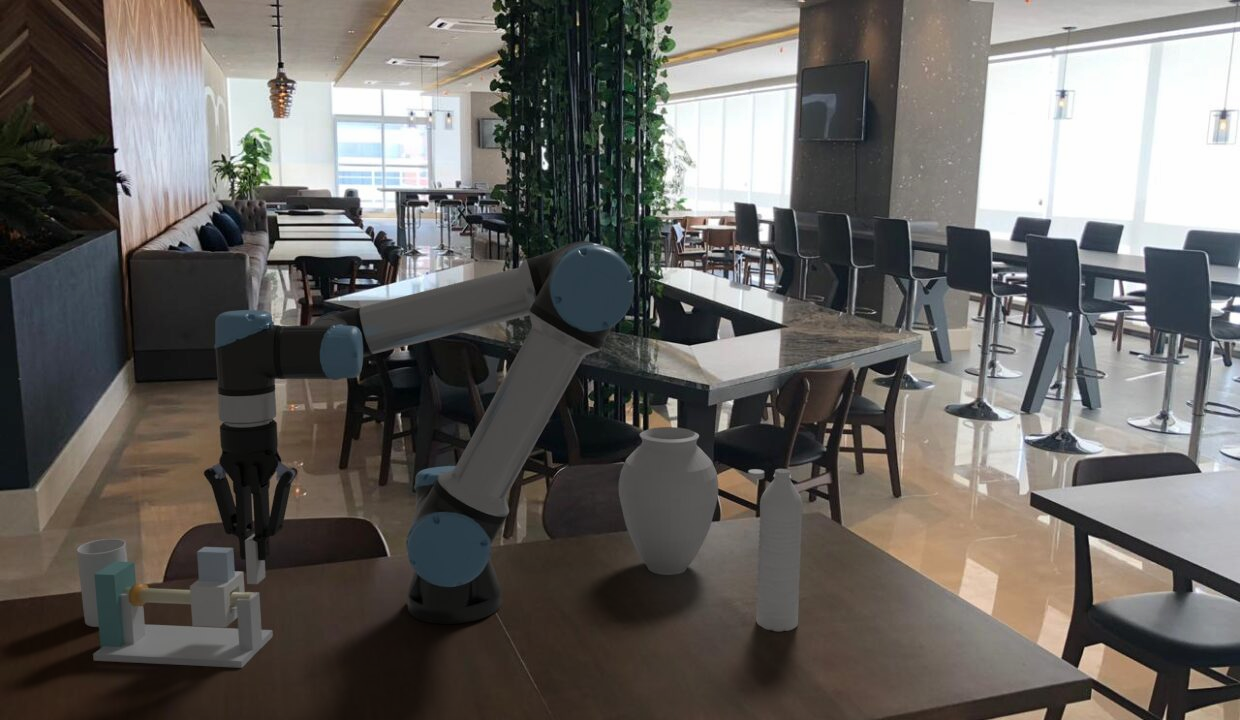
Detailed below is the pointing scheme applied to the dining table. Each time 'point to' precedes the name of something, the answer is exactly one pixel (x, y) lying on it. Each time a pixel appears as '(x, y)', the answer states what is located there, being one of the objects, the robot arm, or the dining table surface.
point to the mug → (96, 570)
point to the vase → (668, 498)
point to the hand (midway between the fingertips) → (256, 580)
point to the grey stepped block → (215, 588)
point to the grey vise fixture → (169, 644)
